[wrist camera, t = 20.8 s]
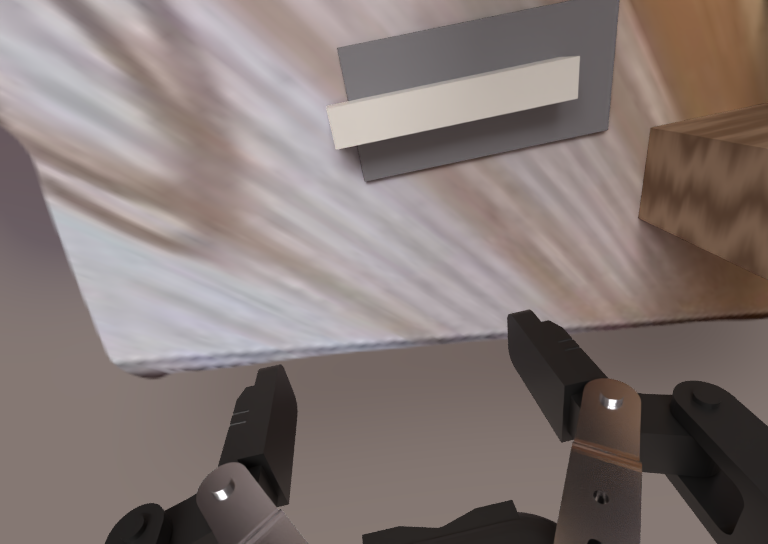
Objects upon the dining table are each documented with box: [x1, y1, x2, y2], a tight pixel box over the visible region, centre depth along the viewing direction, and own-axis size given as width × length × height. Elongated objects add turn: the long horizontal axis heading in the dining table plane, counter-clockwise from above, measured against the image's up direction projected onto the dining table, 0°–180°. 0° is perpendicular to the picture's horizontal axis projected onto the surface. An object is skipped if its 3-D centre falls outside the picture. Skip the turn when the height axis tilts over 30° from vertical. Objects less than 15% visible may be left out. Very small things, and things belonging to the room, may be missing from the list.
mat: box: [337, 0, 619, 181], centre depth 44 cm, size 14×30×1 cm, turn 100°
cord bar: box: [326, 56, 580, 150], centre depth 42 cm, size 4×26×4 cm, turn 100°
